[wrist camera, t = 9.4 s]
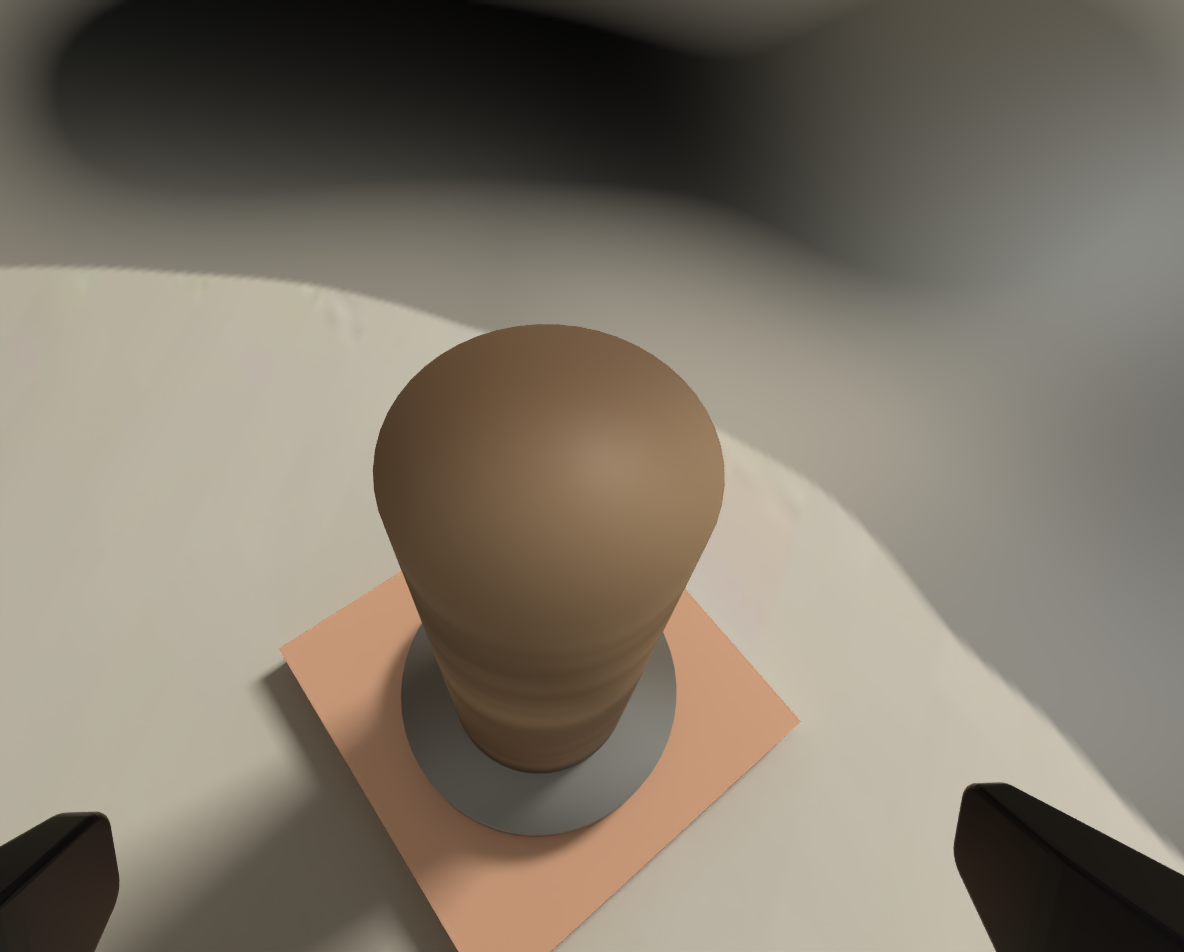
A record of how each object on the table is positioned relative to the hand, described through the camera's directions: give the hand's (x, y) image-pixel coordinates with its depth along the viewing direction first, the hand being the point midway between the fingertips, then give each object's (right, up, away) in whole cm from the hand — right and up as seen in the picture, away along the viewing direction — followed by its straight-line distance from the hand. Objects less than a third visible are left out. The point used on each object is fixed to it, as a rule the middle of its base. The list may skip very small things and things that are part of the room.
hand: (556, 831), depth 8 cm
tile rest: (-1, -2, +13) cm, 13 cm away
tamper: (-1, -2, +12) cm, 12 cm away
